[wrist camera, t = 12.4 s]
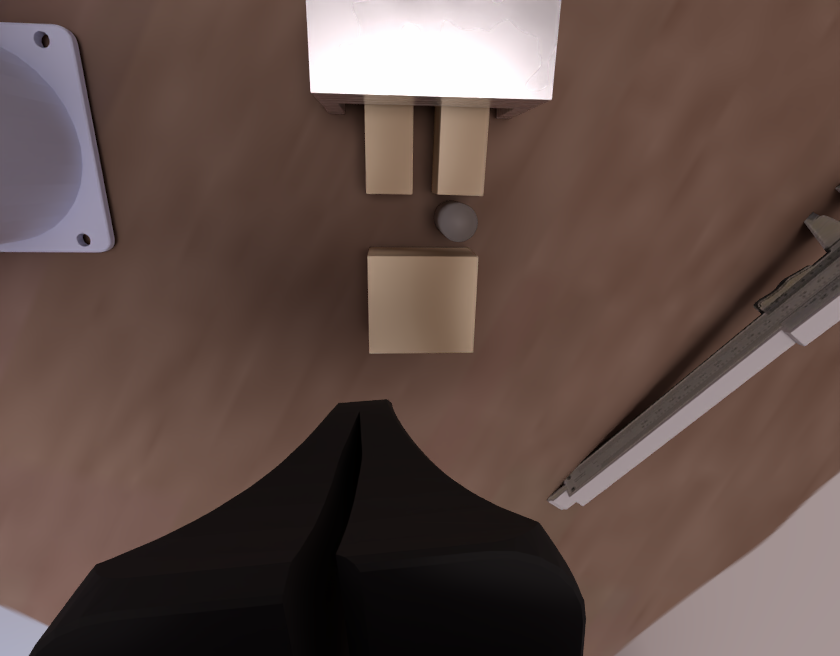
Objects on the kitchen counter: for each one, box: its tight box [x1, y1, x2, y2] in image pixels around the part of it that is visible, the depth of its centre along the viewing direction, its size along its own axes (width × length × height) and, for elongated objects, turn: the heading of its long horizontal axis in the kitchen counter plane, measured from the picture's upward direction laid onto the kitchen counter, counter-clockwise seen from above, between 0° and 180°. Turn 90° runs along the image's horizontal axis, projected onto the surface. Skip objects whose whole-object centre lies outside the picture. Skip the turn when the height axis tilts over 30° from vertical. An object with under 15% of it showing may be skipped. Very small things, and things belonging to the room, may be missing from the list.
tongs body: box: [365, 104, 478, 354], centre depth 17 cm, size 4×18×2 cm, turn 179°
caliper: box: [547, 185, 840, 510], centre depth 20 cm, size 20×1×6 cm, turn 144°
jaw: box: [431, 106, 490, 242], centre depth 17 cm, size 2×14×2 cm, turn 178°
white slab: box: [306, 0, 561, 119], centre depth 16 cm, size 7×3×5 cm, turn 89°
